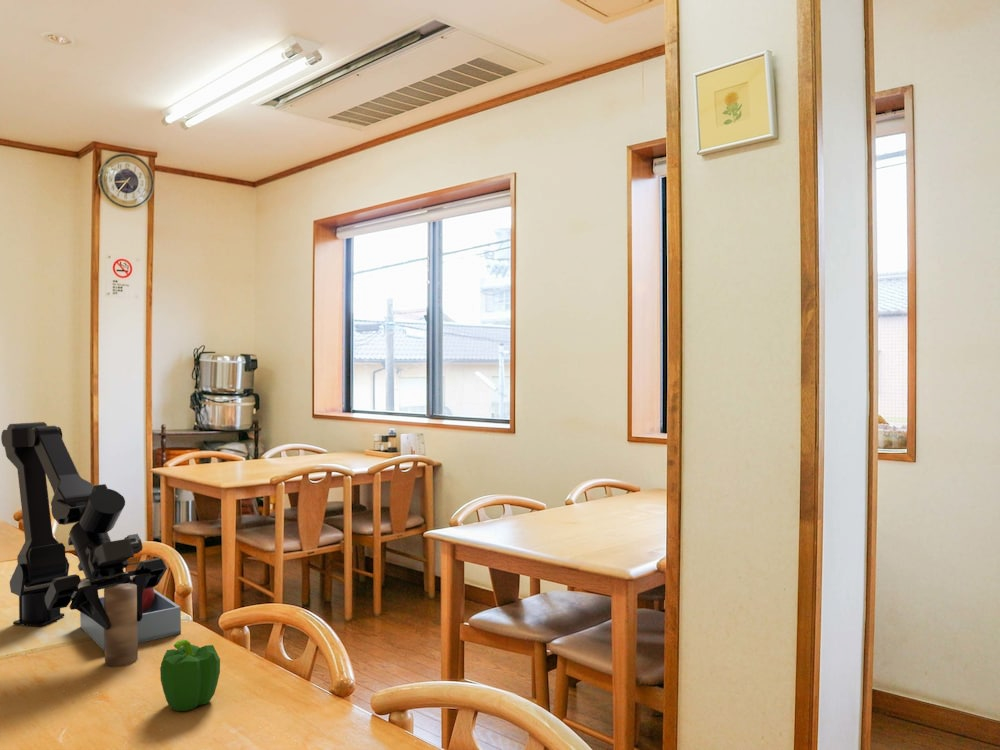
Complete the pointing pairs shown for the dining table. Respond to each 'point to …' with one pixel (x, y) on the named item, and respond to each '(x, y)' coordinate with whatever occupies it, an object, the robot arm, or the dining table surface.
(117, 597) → the canister
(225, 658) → the dining table surface
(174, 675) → the bell pepper
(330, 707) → the dining table surface
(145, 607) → the onion
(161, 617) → the tote
